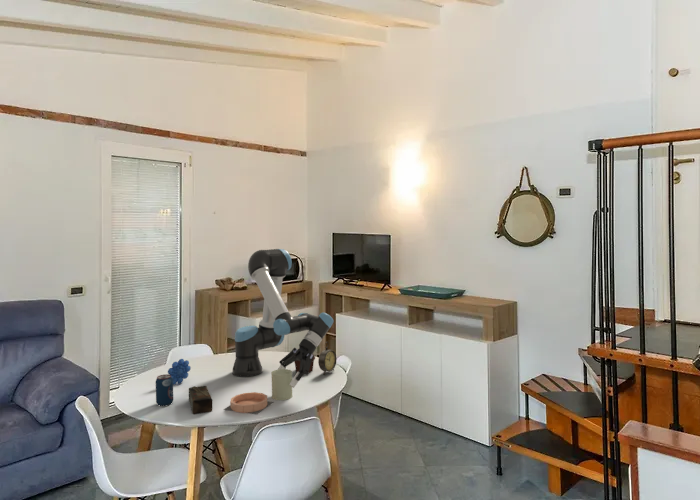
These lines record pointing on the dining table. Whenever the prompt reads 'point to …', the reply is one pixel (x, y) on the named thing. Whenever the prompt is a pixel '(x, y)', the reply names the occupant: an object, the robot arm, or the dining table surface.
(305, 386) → the dining table surface
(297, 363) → the muffin
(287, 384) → the can
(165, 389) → the soda can
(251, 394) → the bowl
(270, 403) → the mat
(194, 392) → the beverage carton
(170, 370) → the grapes
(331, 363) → the alarm clock
